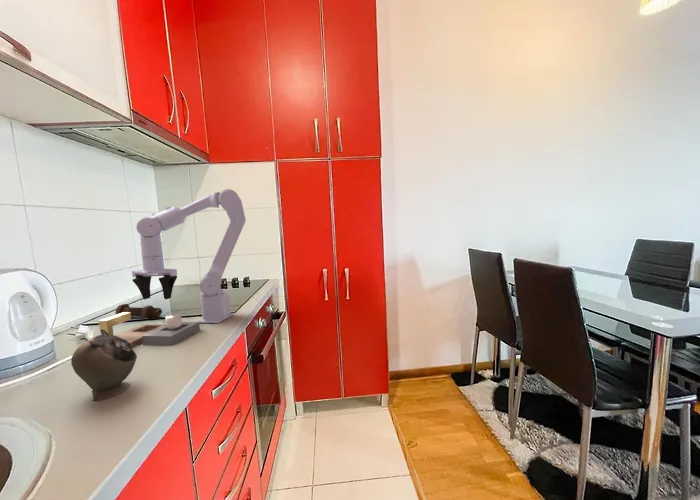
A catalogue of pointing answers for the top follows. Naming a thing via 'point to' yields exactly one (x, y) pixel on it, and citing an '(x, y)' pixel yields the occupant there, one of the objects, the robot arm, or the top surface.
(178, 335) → the frame
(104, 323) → the bar
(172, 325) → the peg
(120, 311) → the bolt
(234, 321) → the top surface
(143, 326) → the socket board
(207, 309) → the robot arm
